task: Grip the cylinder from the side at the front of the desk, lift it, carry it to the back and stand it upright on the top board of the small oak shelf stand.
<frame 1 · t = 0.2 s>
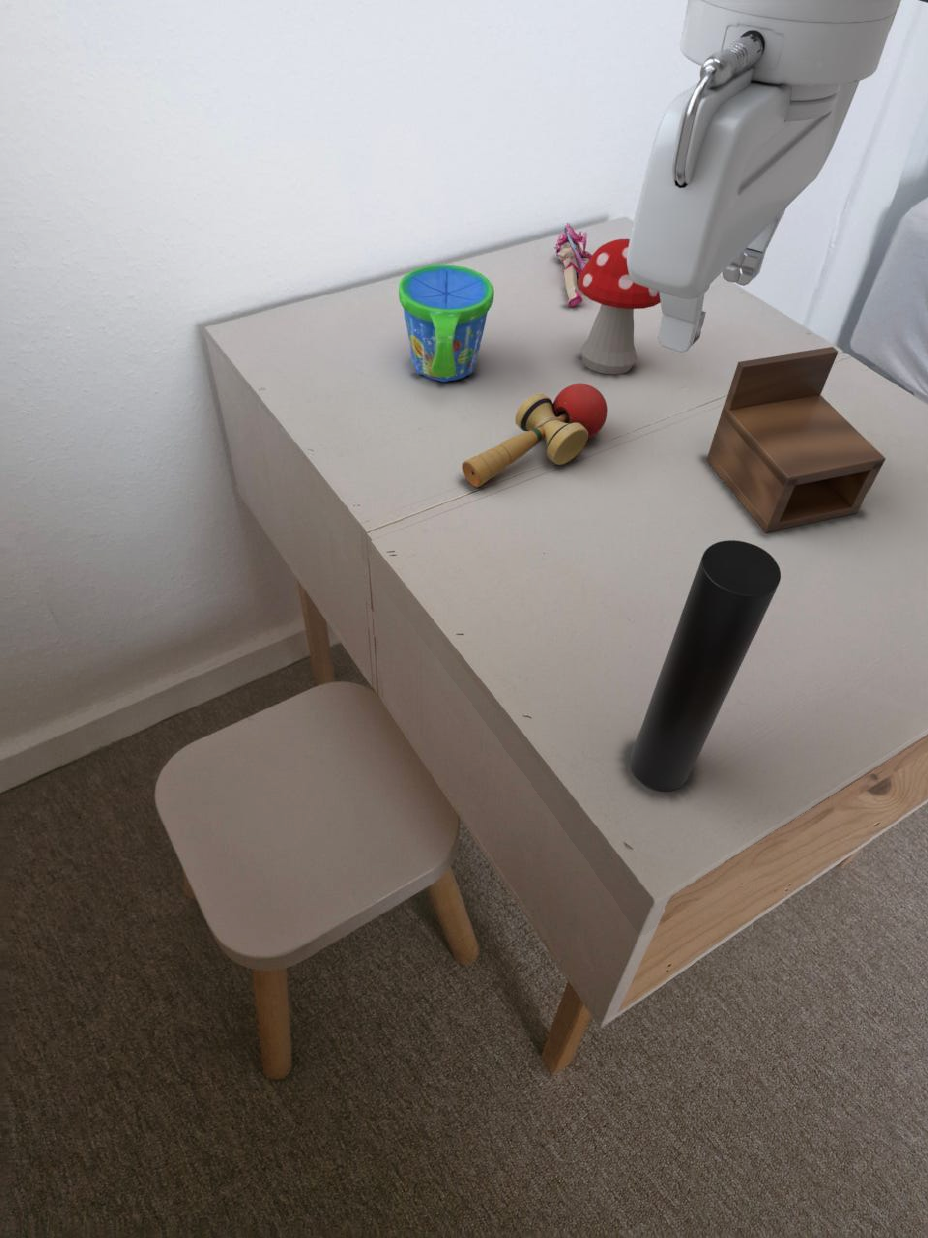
hand: (709, 309, 48), 33 cm above the table, tool pointing down, fingers open, 8 cm apart
toy: (577, 281, 117), on the table
cylinder: (659, 765, 66), on the table
decorative mushroom: (606, 364, 103), on the table
kendama: (534, 457, 91), on the table
snack cup: (443, 368, 101), on the table
shelf: (779, 485, 89), on the table
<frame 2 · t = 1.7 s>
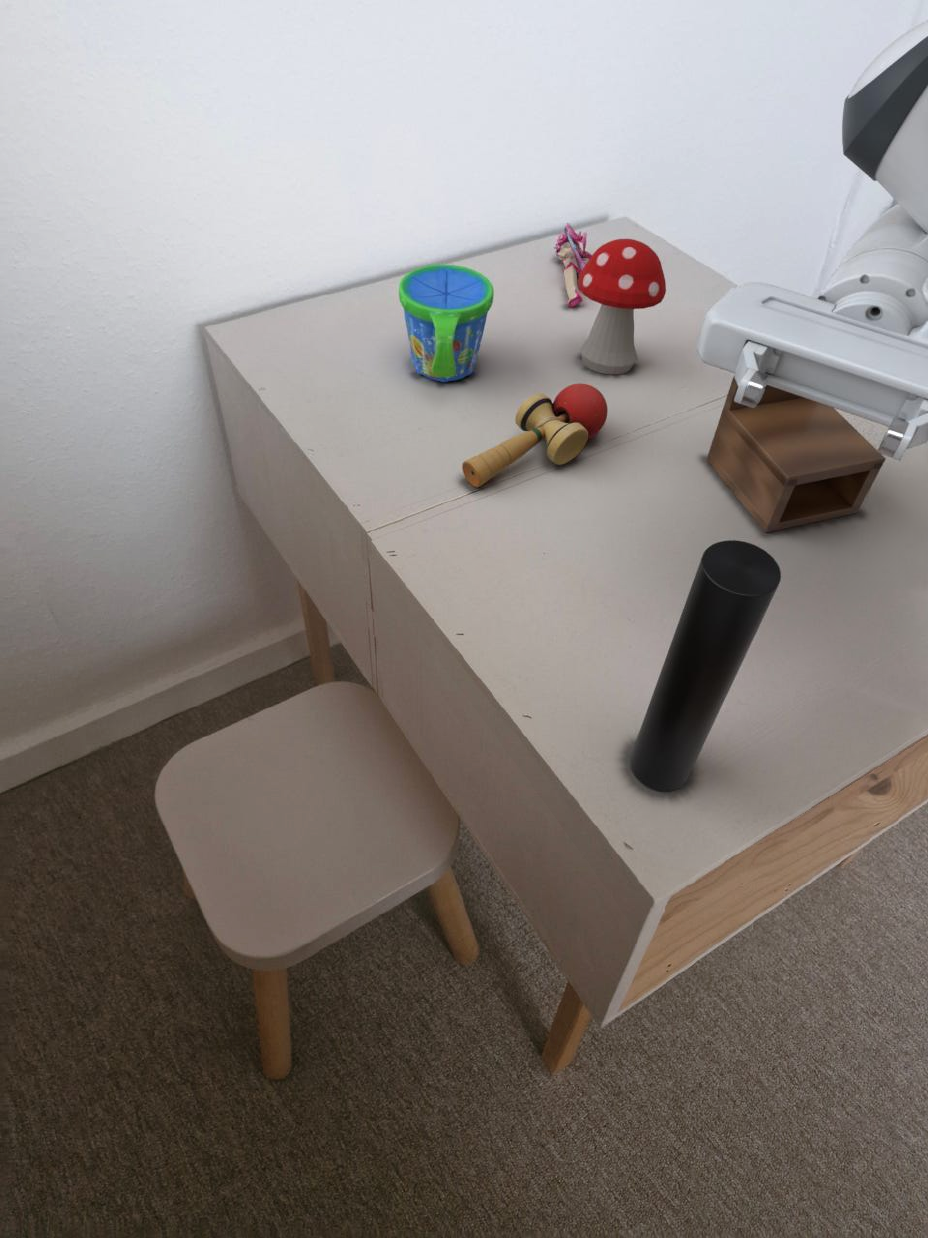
hand: (817, 421, 54), 25 cm above the table, tool horizontal, fingers open, 8 cm apart
nothing on the table moved.
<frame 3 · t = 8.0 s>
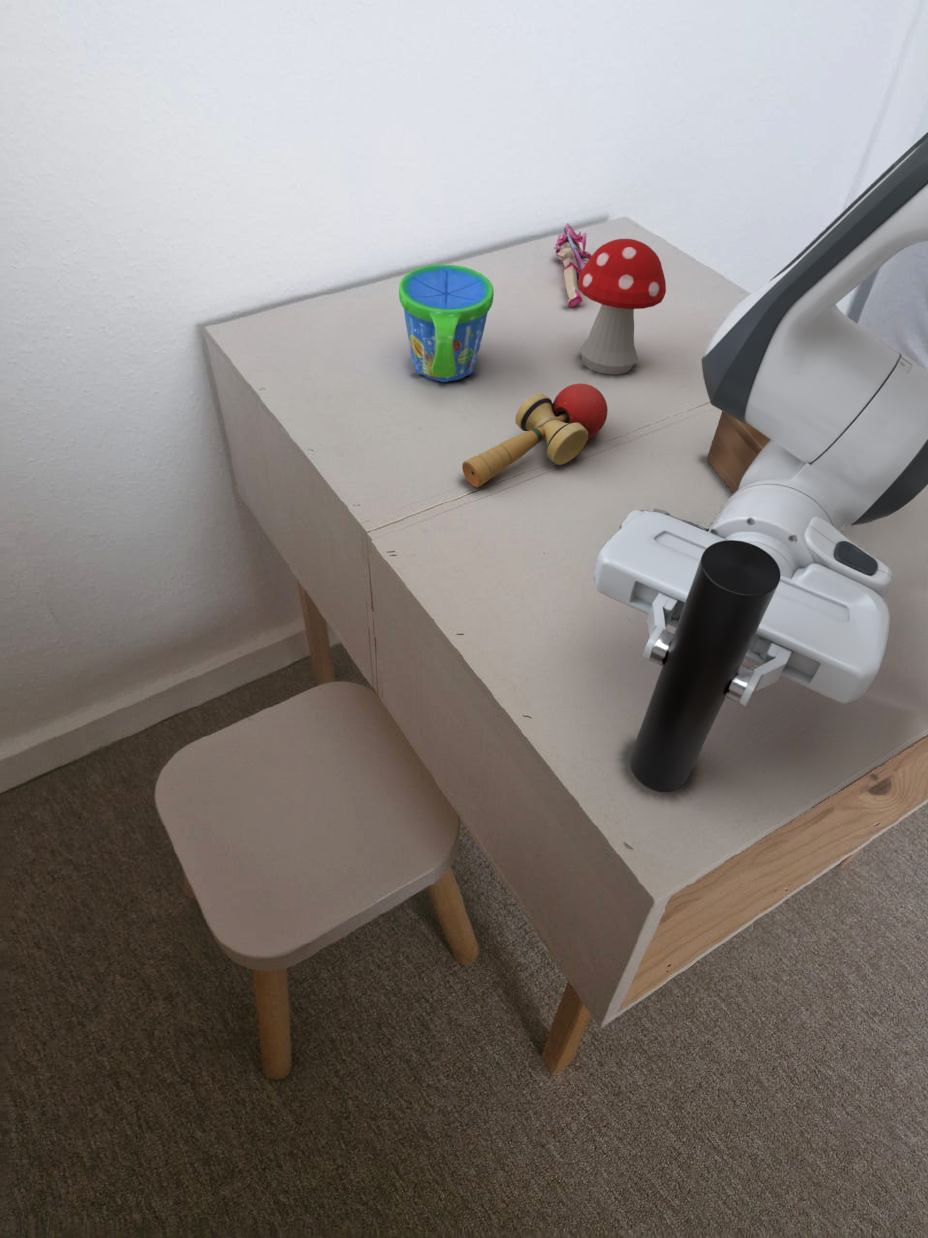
hand: (695, 676, 56), 13 cm above the table, tool horizontal, fingers closed on cylinder, 4 cm apart
cylinder: (659, 765, 66), on the table, touching gripper
everything else where it was.
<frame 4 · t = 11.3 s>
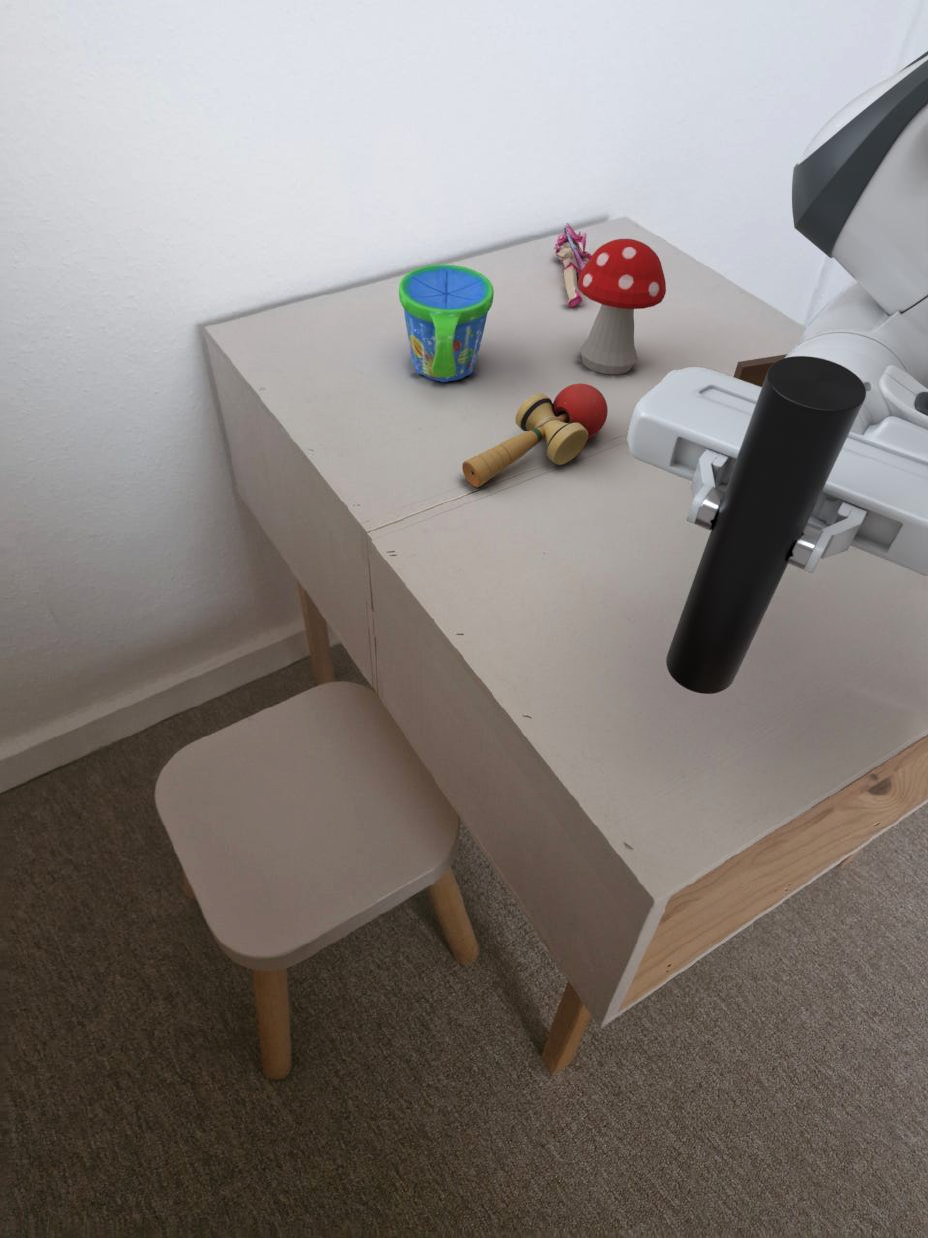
hand: (751, 538, 47), 25 cm above the table, tool horizontal, fingers closed on cylinder, 4 cm apart
cylinder: (700, 666, 57), point 12 cm above the table, touching gripper
everything else where it was.
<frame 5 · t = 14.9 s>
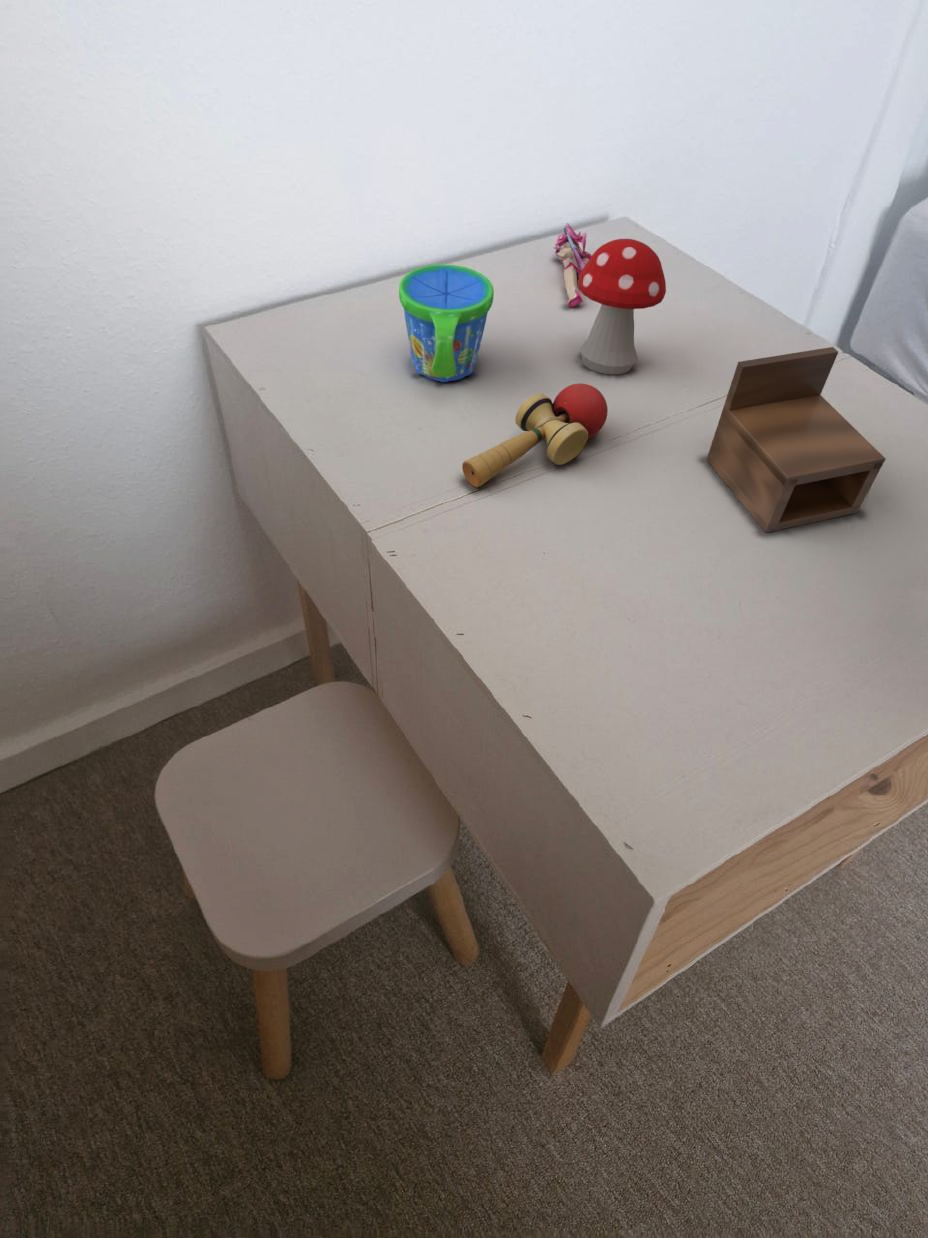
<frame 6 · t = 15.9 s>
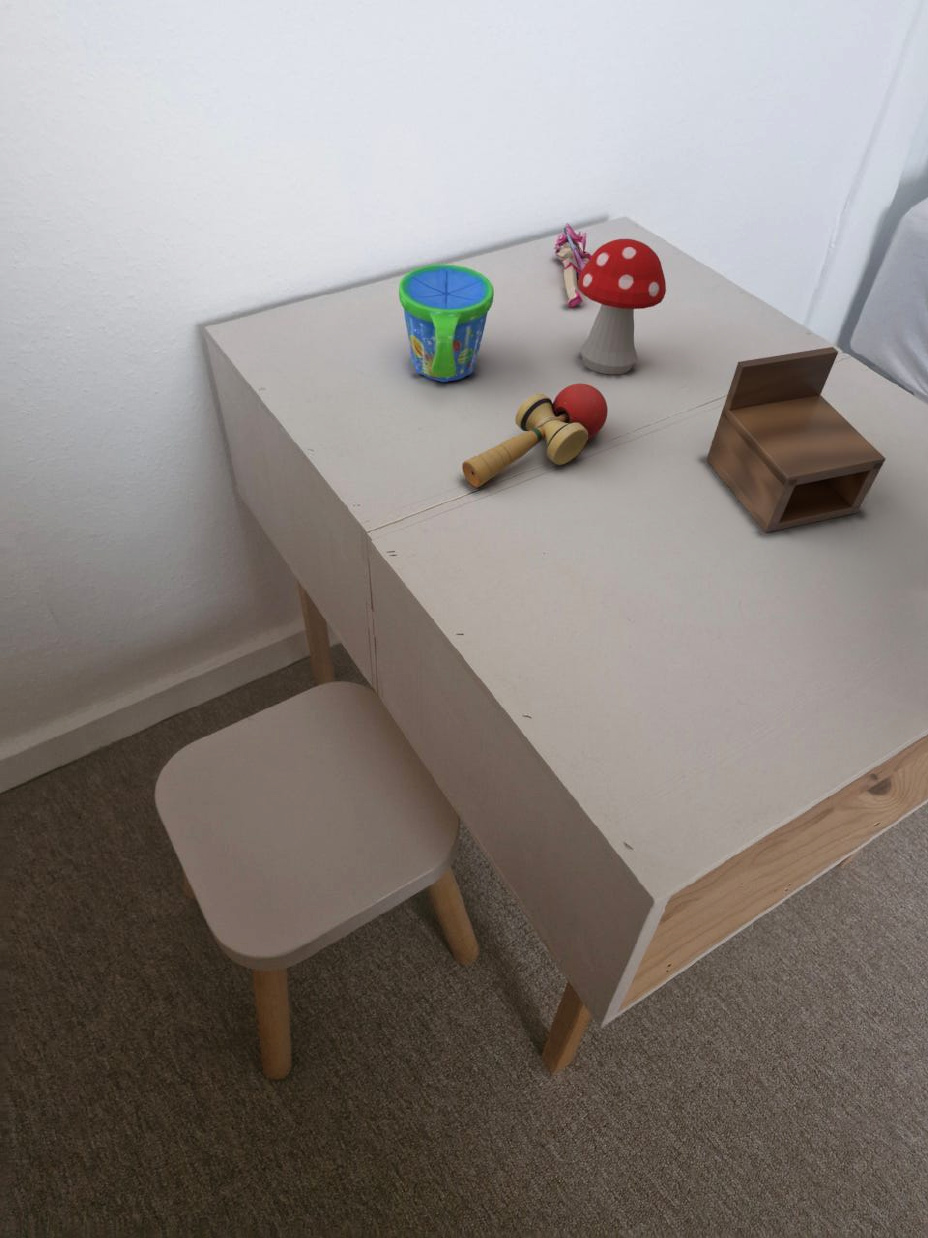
when the fingers open (20 cm above the table, at t = 22.3 s): cylinder stays where it is, resting on shelf.
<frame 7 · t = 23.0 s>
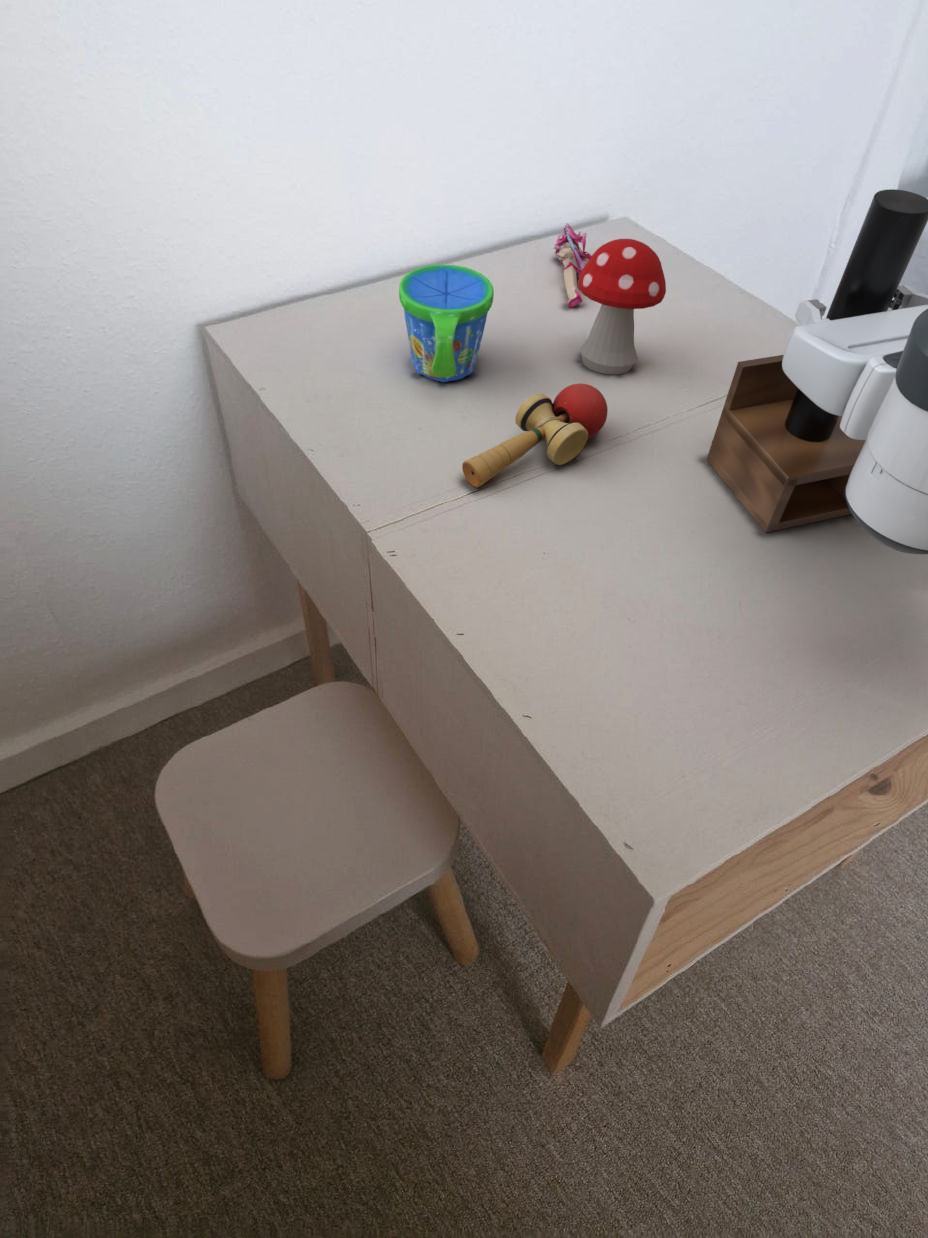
hand: (850, 300, 75), 20 cm above the table, tool horizontal, fingers open, 8 cm apart
cylinder: (807, 427, 84), point 7 cm above the table, touching shelf
everything else where it was.
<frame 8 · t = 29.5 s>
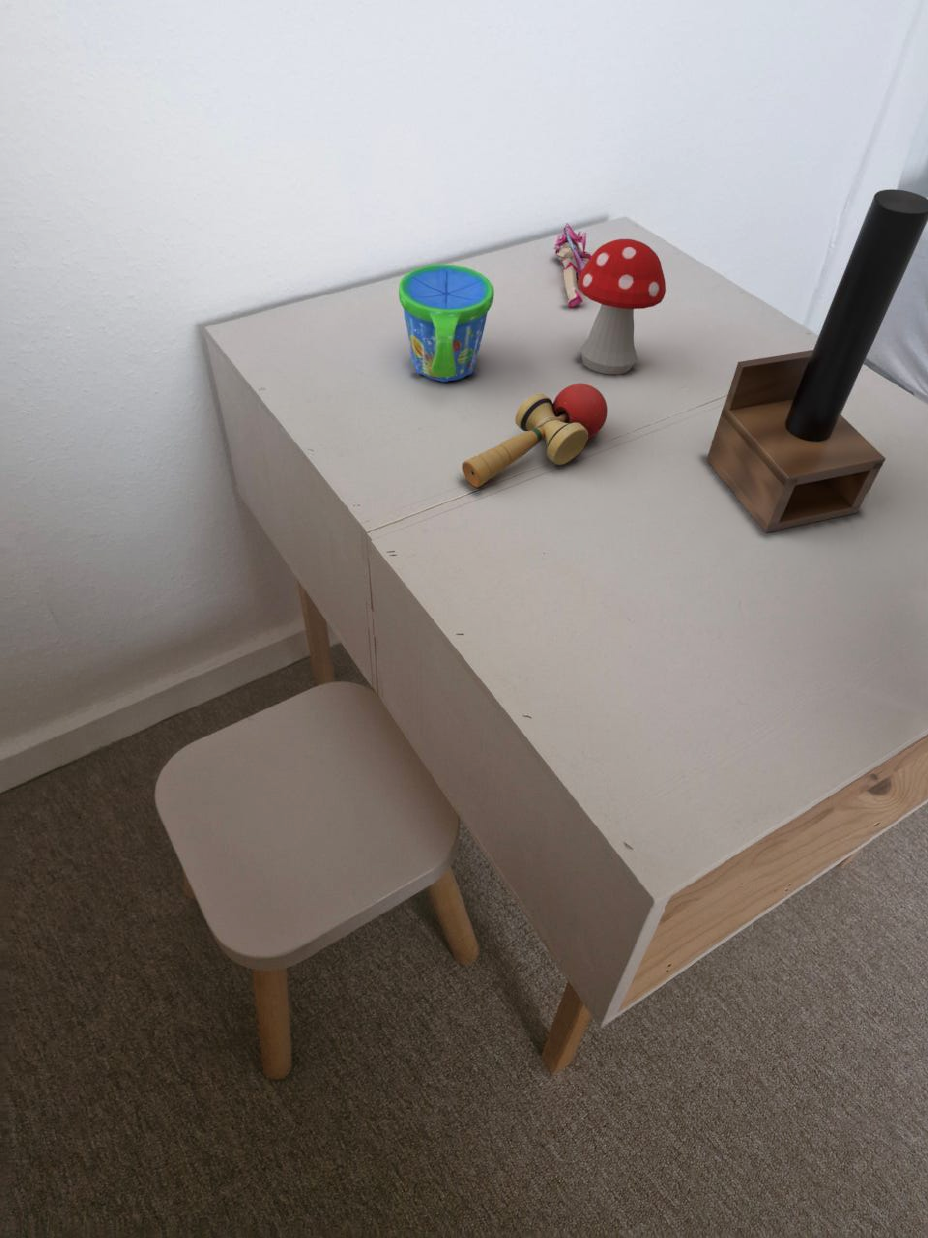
nothing on the table moved.
at the end: cylinder inside the target area on the shelf (0.9 cm from its centre), point 7.0 cm above the shelf's base; cylinder tilted 0°; the gripper is holding nothing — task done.
